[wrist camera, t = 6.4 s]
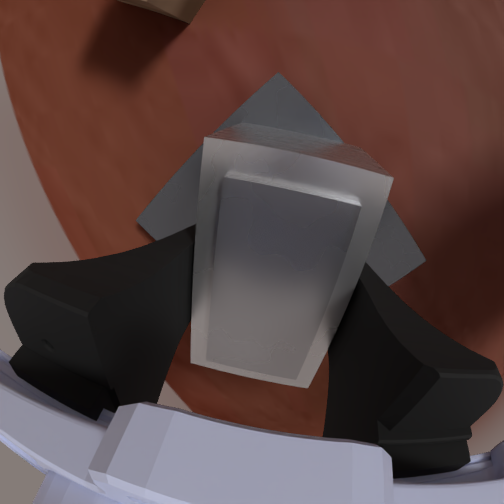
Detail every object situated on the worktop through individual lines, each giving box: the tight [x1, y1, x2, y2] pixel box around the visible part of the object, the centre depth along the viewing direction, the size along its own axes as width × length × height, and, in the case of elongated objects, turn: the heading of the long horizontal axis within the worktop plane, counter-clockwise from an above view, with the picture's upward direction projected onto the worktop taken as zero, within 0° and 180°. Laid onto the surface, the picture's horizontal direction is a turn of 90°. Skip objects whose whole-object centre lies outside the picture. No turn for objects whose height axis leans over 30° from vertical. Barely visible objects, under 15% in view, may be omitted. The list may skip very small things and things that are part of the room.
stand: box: [136, 72, 426, 286], centre depth 13 cm, size 10×9×1 cm
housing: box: [191, 122, 394, 388], centre depth 10 cm, size 8×4×5 cm, turn 171°
